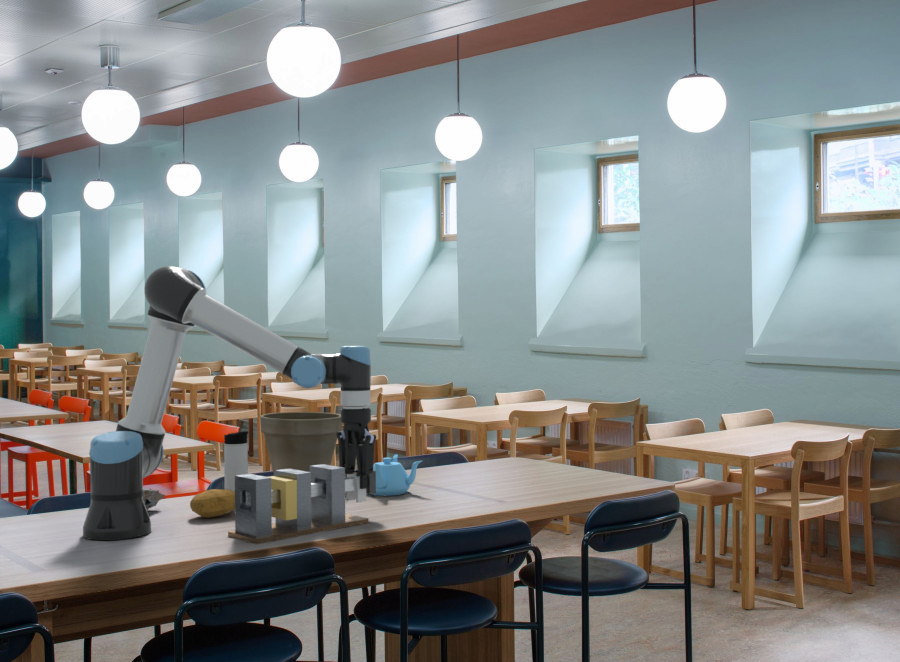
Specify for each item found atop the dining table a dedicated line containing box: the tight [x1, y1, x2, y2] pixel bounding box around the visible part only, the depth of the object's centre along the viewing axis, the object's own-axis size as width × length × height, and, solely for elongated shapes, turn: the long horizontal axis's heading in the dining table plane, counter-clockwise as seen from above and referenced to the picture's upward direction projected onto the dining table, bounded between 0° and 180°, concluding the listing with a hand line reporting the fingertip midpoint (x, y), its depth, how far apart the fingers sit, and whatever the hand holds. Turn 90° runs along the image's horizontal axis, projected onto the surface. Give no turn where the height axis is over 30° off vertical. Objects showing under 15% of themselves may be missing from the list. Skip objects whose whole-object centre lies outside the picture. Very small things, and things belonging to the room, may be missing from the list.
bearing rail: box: [227, 464, 369, 545], centre depth 227 cm, size 32×12×14 cm, turn 134°
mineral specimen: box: [143, 487, 166, 511], centre depth 251 cm, size 10×8×10 cm
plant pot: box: [259, 411, 343, 476], centre depth 290 cm, size 25×25×22 cm
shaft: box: [246, 469, 376, 506], centre depth 230 cm, size 35×6×6 cm, turn 134°
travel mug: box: [223, 430, 249, 492], centre depth 261 cm, size 6×7×20 cm
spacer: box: [269, 475, 297, 520], centre depth 223 cm, size 3×9×9 cm, turn 44°
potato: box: [189, 488, 235, 519], centre depth 244 cm, size 9×13×7 cm
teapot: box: [371, 453, 422, 497], centre depth 276 cm, size 15×15×10 cm
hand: (356, 500), depth 239 cm, fingers closed on shaft, 3 cm apart
